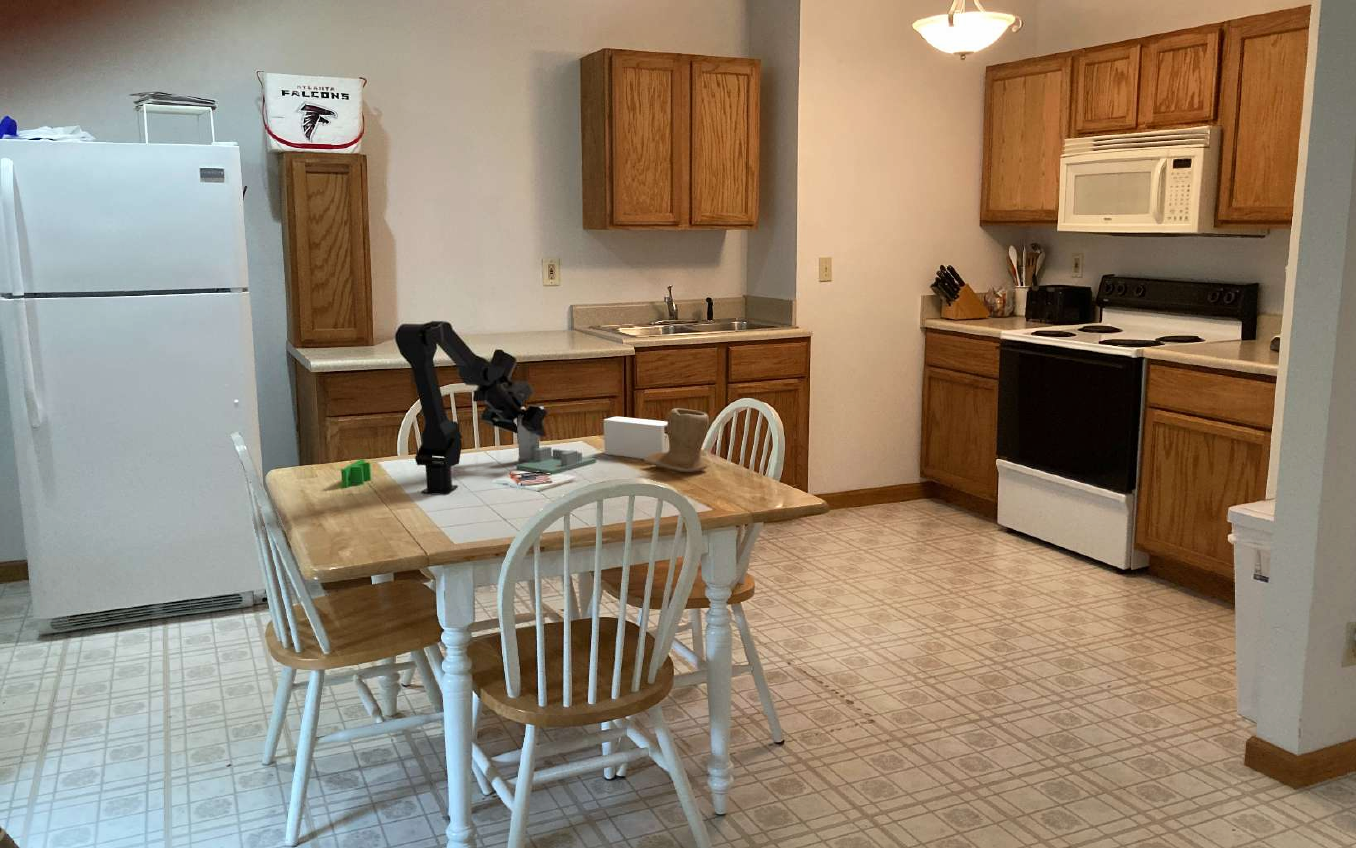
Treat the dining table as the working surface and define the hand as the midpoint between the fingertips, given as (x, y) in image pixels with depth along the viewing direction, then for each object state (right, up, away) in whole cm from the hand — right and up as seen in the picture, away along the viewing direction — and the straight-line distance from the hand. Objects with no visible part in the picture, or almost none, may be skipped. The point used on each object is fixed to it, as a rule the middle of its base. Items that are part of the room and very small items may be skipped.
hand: (531, 434), depth 280 cm
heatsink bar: (-1, -7, 0) cm, 7 cm away
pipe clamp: (-39, -12, -18) cm, 44 cm away
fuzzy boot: (+38, -9, -12) cm, 41 cm away
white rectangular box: (+27, -6, +4) cm, 28 cm away
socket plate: (+7, -8, -5) cm, 12 cm away
